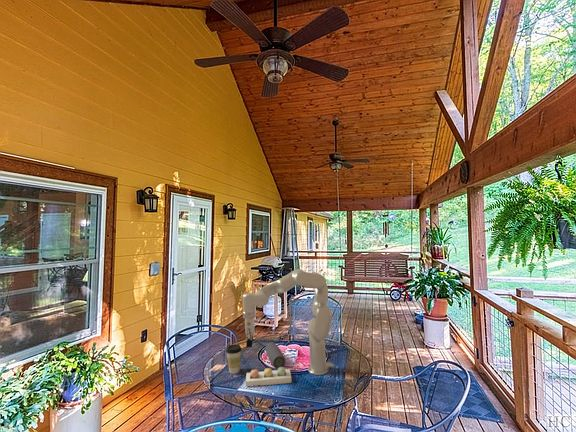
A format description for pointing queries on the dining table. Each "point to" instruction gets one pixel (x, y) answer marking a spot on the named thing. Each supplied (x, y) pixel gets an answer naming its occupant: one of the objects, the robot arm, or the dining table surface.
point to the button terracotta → (254, 373)
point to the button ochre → (268, 372)
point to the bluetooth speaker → (275, 355)
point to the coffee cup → (234, 358)
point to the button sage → (281, 371)
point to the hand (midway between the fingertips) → (249, 343)
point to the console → (268, 378)
